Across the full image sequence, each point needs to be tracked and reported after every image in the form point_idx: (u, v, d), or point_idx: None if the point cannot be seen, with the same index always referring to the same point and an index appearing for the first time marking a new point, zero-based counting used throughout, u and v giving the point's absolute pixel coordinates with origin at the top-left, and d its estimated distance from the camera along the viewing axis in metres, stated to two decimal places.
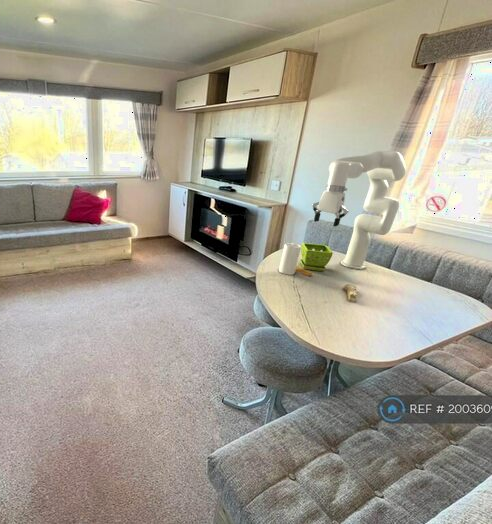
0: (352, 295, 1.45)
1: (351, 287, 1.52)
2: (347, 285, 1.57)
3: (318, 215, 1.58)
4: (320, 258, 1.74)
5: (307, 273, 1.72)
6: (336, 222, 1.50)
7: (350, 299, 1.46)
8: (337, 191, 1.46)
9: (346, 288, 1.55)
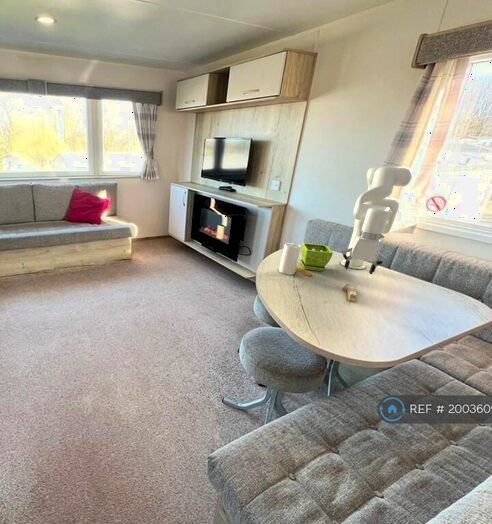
0: (352, 295, 1.45)
1: (351, 287, 1.52)
2: (347, 285, 1.57)
3: None
4: (320, 258, 1.74)
5: (307, 273, 1.72)
6: (373, 270, 1.42)
7: (350, 299, 1.46)
8: (377, 239, 1.36)
9: (346, 288, 1.55)
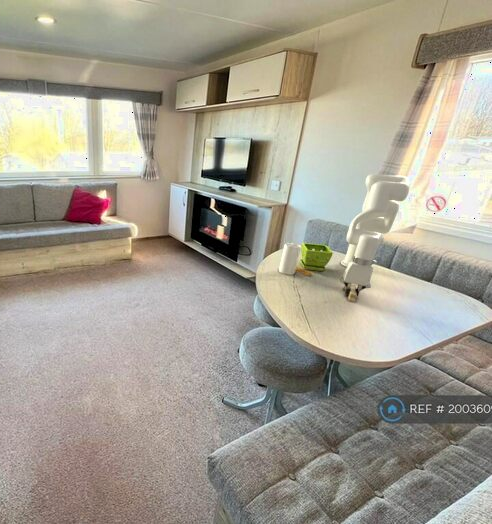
0: (352, 295, 1.45)
1: (351, 287, 1.52)
2: None
3: (349, 290, 1.50)
4: (320, 258, 1.74)
5: (307, 273, 1.72)
6: None
7: (350, 299, 1.46)
8: (369, 265, 1.40)
9: None
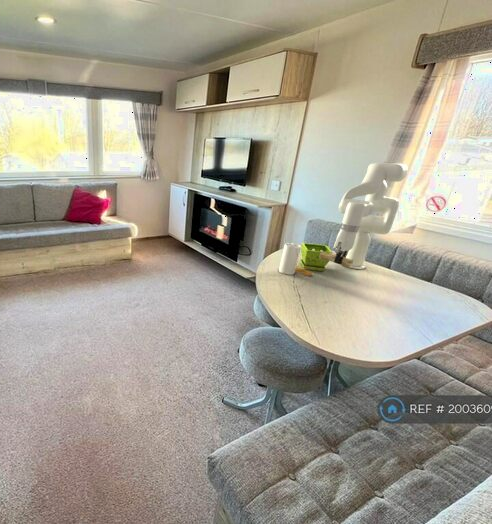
0: (351, 261, 1.52)
1: (334, 254, 1.59)
2: (323, 254, 1.62)
3: None
4: None
5: (307, 273, 1.72)
6: None
7: (350, 265, 1.53)
8: None
9: (326, 257, 1.61)
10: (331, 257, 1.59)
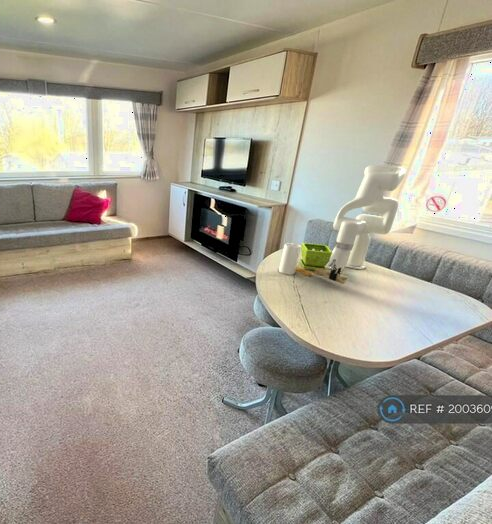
0: (345, 278, 1.56)
1: (329, 271, 1.62)
2: (318, 270, 1.66)
3: None
4: (320, 258, 1.74)
5: (307, 273, 1.72)
6: None
7: (344, 282, 1.57)
8: None
9: (321, 273, 1.64)
10: (326, 273, 1.63)
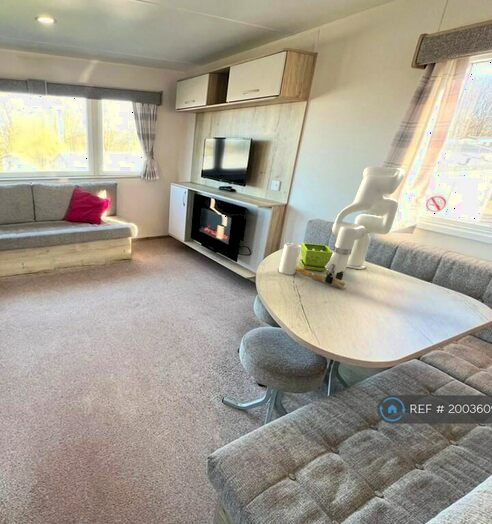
0: (344, 283, 1.57)
1: None
2: (317, 275, 1.67)
3: None
4: (320, 258, 1.74)
5: (307, 273, 1.72)
6: None
7: (342, 287, 1.58)
8: None
9: (320, 278, 1.66)
10: (324, 278, 1.64)
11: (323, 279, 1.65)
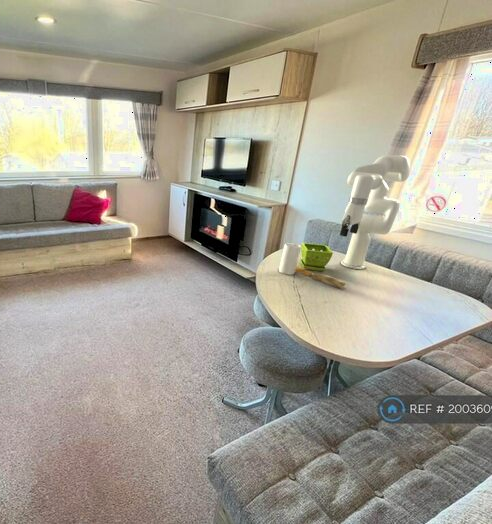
0: (344, 283, 1.57)
1: (327, 276, 1.63)
2: (317, 275, 1.67)
3: None
4: (320, 258, 1.74)
5: (307, 273, 1.72)
6: None
7: (342, 287, 1.58)
8: None
9: (320, 278, 1.66)
10: (324, 278, 1.64)
11: (323, 279, 1.65)
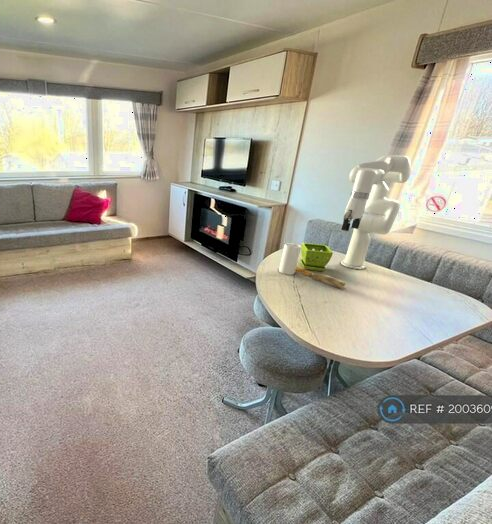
0: (344, 283, 1.57)
1: (327, 276, 1.63)
2: (317, 275, 1.67)
3: None
4: (320, 258, 1.74)
5: (307, 273, 1.72)
6: None
7: (342, 287, 1.58)
8: None
9: (320, 278, 1.66)
10: (324, 278, 1.64)
11: (323, 279, 1.65)
